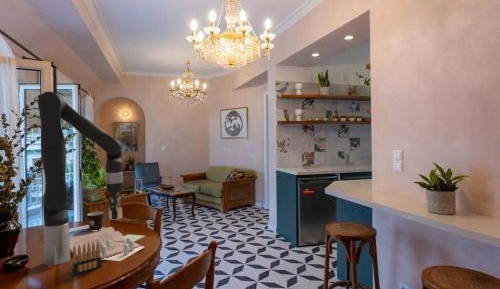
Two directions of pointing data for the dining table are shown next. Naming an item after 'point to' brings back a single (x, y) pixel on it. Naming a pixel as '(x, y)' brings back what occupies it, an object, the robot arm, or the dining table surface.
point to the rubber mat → (133, 237)
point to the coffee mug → (94, 220)
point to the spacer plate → (123, 255)
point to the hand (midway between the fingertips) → (115, 217)
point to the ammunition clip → (86, 259)
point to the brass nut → (119, 213)
